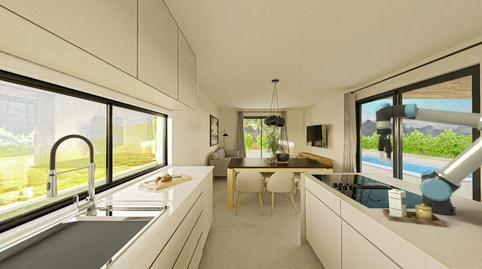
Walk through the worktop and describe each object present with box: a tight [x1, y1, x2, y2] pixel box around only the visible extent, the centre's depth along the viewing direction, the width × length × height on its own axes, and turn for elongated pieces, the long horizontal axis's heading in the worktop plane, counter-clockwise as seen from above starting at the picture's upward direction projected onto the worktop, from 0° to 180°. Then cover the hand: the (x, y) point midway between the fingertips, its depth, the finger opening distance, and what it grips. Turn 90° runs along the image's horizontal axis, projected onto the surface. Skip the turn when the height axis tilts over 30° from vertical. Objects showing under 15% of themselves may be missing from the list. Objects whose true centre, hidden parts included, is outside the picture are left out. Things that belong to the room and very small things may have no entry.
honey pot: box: [414, 203, 432, 220], centre depth 100 cm, size 6×6×9 cm
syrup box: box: [388, 188, 408, 218], centre depth 104 cm, size 6×6×14 cm
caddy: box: [381, 208, 446, 228], centre depth 102 cm, size 22×12×3 cm, turn 67°
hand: (385, 162), depth 120 cm, fingers open, 13 cm apart
